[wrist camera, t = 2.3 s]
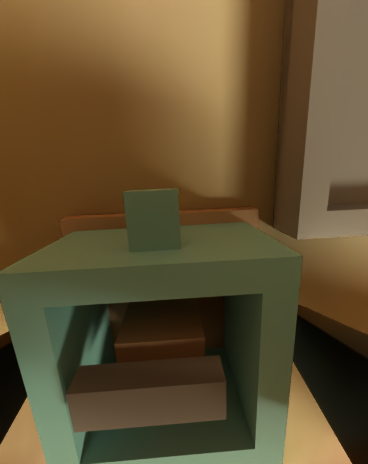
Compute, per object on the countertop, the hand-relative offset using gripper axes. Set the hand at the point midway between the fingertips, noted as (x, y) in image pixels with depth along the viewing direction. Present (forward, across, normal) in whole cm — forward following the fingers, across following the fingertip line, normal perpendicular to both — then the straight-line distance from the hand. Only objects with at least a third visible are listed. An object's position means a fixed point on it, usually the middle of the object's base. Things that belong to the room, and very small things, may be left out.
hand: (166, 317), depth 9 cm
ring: (+1, 0, 0) cm, 1 cm away
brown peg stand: (+2, 0, 0) cm, 2 cm away
